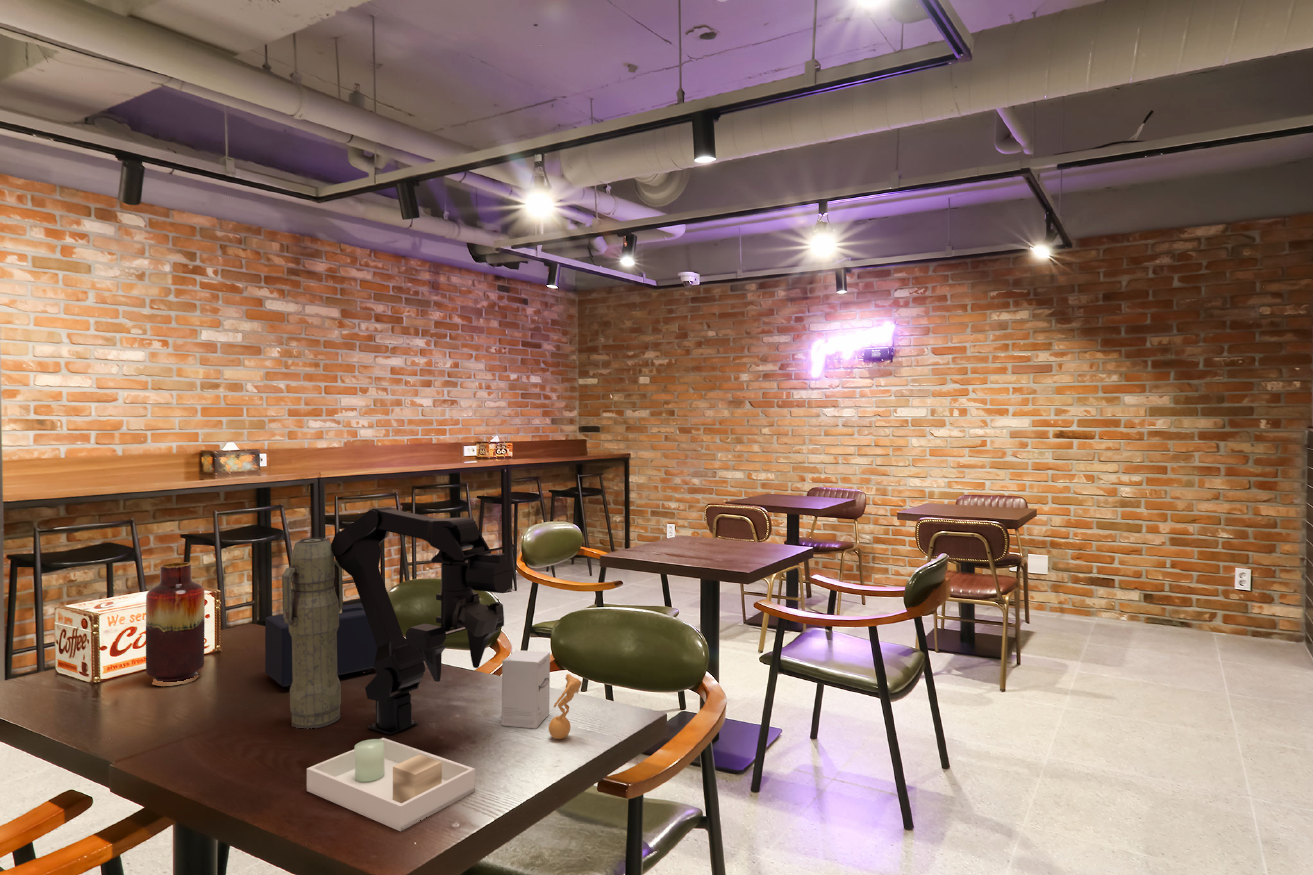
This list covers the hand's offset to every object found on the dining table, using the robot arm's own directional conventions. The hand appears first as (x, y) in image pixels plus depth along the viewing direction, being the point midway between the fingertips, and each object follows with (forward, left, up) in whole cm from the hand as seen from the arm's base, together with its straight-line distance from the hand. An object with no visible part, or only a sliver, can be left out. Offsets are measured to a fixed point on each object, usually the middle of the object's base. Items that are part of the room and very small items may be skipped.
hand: (457, 674), depth 135 cm
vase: (-78, -11, -12) cm, 80 cm away
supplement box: (+4, +14, -12) cm, 19 cm away
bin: (+6, -19, -12) cm, 23 cm away
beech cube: (+12, -19, -11) cm, 25 cm away
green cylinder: (0, -18, -11) cm, 22 cm away
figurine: (+16, +11, -12) cm, 23 cm away
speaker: (-53, +9, -12) cm, 55 cm away
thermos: (-30, -8, -12) cm, 33 cm away
